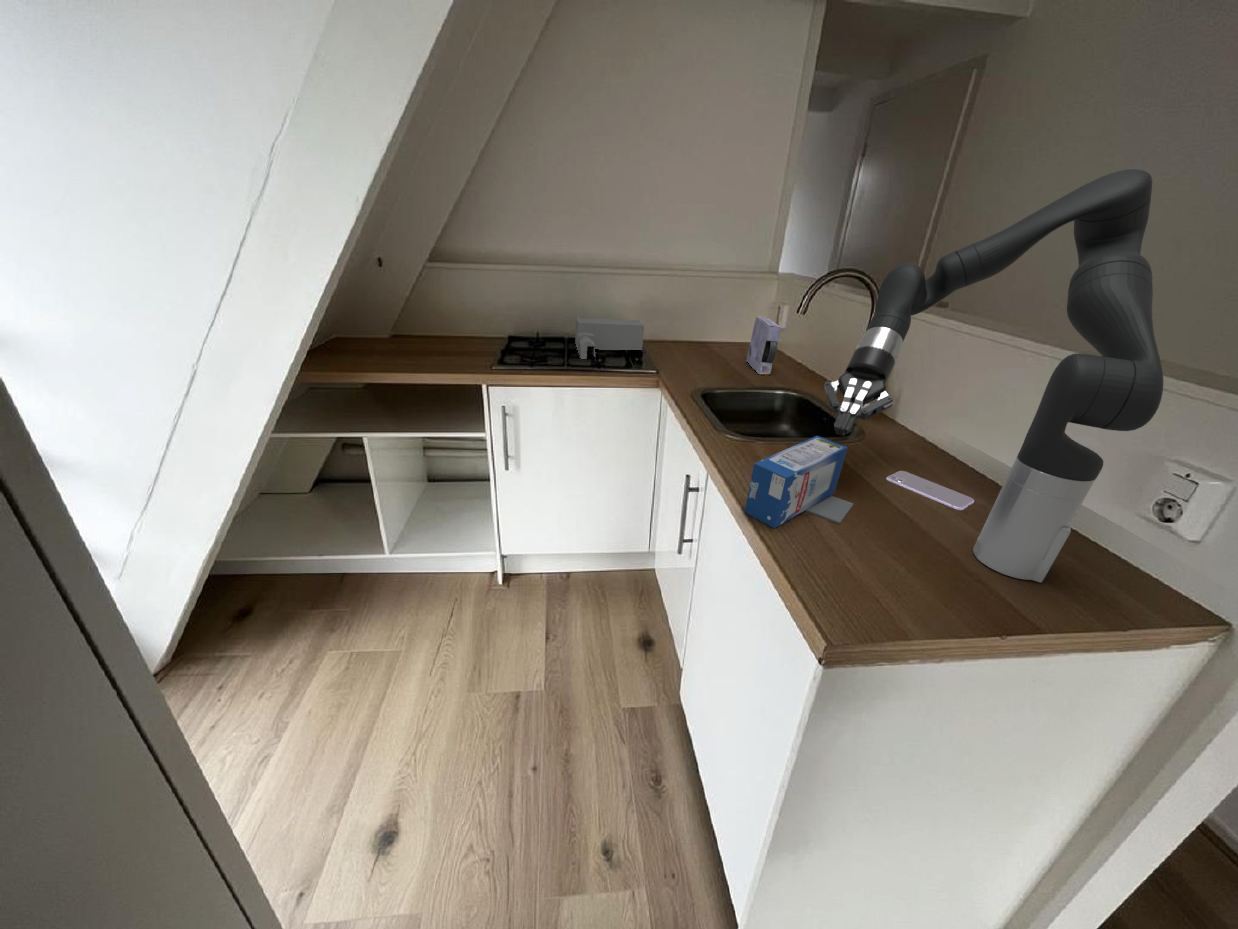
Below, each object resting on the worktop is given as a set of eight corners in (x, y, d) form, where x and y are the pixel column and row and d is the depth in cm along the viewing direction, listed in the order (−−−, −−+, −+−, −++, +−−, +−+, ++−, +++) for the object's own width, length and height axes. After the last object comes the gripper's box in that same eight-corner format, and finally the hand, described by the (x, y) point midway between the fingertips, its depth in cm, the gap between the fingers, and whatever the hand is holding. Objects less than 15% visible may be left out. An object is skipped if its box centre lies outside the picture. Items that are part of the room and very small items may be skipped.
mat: (853, 505, 92) (853, 503, 92) (839, 524, 86) (840, 522, 86) (791, 483, 99) (791, 481, 99) (774, 499, 92) (774, 497, 92)
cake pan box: (772, 377, 173) (783, 326, 165) (758, 376, 172) (768, 325, 165) (757, 363, 190) (767, 316, 182) (745, 362, 190) (753, 315, 182)
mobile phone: (961, 508, 93) (884, 476, 104) (959, 512, 94) (883, 480, 104) (977, 498, 98) (901, 468, 108) (975, 502, 98) (900, 472, 109)
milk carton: (817, 435, 94) (754, 463, 82) (847, 446, 90) (786, 477, 78) (805, 480, 99) (744, 512, 87) (834, 493, 95) (774, 529, 83)
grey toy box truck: (579, 360, 175) (580, 329, 170) (575, 345, 196) (576, 317, 191) (647, 362, 179) (650, 332, 175) (636, 347, 200) (638, 320, 195)
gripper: (910, 376, 94) (876, 452, 90) (839, 361, 101) (805, 432, 97) (914, 352, 88) (878, 433, 84) (839, 338, 95) (802, 413, 91)
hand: (839, 432), depth 91 cm, fingers closed
